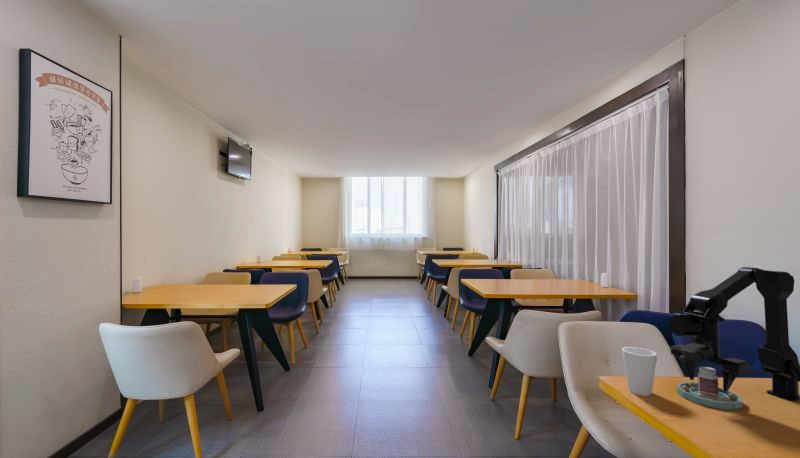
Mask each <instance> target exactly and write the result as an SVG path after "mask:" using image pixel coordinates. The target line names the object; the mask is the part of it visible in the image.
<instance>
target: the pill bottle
mask: <svg viewBox="0 0 800 458" xmlns="http://www.w3.org/2000/svg"><path fill="white" fill-rule="evenodd" d="M697 383H698V393H702V394H704V395H705V396H706V397H707V398H713V399H716V398H718V397H719V394H718V387H719V378H718V376H717V369H715V368H713V367H709V366H703V365H702V366H699V367H698V373H697Z"/></svg>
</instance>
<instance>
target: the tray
mask: <svg viewBox="0 0 800 458" xmlns="http://www.w3.org/2000/svg"><path fill="white" fill-rule="evenodd" d="M676 391H677V394H678V395H679V396H680V397H681V398H684V399H685V400H687V401H690V402H692V403H695V404H697V405H701V406H704V407H709V408H712V409H718V410H725V411H726V410H727V411H735V410H740V409H742V408H743V398H742V396H740V395H739V394H737V393H735V392H734V391H732V390H728V391H727V392H725V391H724V389H723V387H719V386H718V394H719V397H718V398H716V399H713V398H707V397H706V396H705V395H704V394H702V393H698V382H694V381H683V382H678V383H677V387H676Z"/></svg>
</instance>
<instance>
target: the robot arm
mask: <svg viewBox="0 0 800 458" xmlns="http://www.w3.org/2000/svg"><path fill="white" fill-rule="evenodd" d="M752 284H755V286H756V290H757V291H758V292H759V294H760V295H761V297H763V305H764V321H765V322H764V324H765V338H766V339H765V340H766V341H765V343H764V344H763V345H762V346H758V347H757V352H758V353H757V354H758V355H757V360H759V363H760V365H761V367H762V370H763V372H765V373H769V374H771V388H772V389H769V390H766V393H767V394H770V395H774V396H776V397H780V398H783V399H786V400H790V401H793V402H795V401H799V400H800V389H799V388H800V386H799V383H800V363H799V357H798V355H797V353H796V352H795V351H794V349H793V348H792V347H791V345H790V337H789V319H788V318H789V317H788V298H789V297H790V296H791V295H792V294H793V293H794V291H795V290H794V287H795V278H794V276H793V275H791V274H790V273H789V272H788V271H780V270H779V271H778V270H766V269H763V268H758V267H750V266H748V267H746V266H744V267H740V268H738V270H737V271H736V272H735V273H733V274H732V275H730V276H729V277H727V278H726V279H725V280H723V281H722V282H720V283H719V284H717V285H715V286H714V287H712V288H710V289H705V290H702V291H699V292H697V293H694V294H693V295H692V296H690V298H689V301H688V303H687V304H686V306H685V307H684V309H683V311H682V312H681V313H679V312H675V313H674V316H673V317H672V318H671V319H670V320H669V321H668V328H669V330H670V332H671V333H672V334H673V335H674V336H677V337H687V336H688V337H690V336H692V337H691V342H690V343H688V344H682V343H681V344H675V345H671V347H670V355H674V357H675V358H676V359H678V360H679V362H681V363H682V364H683V365H682V366H683V367H684V369H685V371H686V373H687V375H688V377H689V380H691V381H694V379H695V376H696V375H695V373H696V363H697V364H699V363H700V364H701V363H702V362H704V361H707V362H710V363H715V364H717V365H720V367H722V369H720V371H721V373H722V377H723V378H722V388H723V389H724V391H725V392H727V391H728V390H729V389H730V388H731V386H732V385H733V383H734V382H735V380H736V379H737V377H738V376H739V375H740V374H744V373H749V372H751V365H750V364H749V363H748V361H746V360H742V359H739V358H735V357H731V358H722V357H723V352H720V344H723V339H720V327H719V323H720V322H726V319H725V318H724V317H723V316H721V315H720V314H722V312H723V311H724V310H726V308H727V307H728V303H729V301H730V300H731V299H733V298H734V297H735V296H737V295H739V294H740V293H741V292H742V291H744V290H745V289H747V288H748V287H750V286H751V285H752ZM729 391H730V390H729Z"/></svg>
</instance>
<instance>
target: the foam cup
mask: <svg viewBox="0 0 800 458" xmlns="http://www.w3.org/2000/svg"><path fill="white" fill-rule="evenodd" d="M621 356H622V358H623V366H624V373H625V376H626V377H625V378H626V383H627V388H628V389H627V390H628V391H629V392H630V393H632V394H635V395H639V396H645V397H647V396H648V397H649V396H651V395H652V393H653V388H654V380H655V373H656V366H657V363H658V355H657V352H655V351H653V350H650V349H646V348H641V347H635V346H624V347H621Z"/></svg>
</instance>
